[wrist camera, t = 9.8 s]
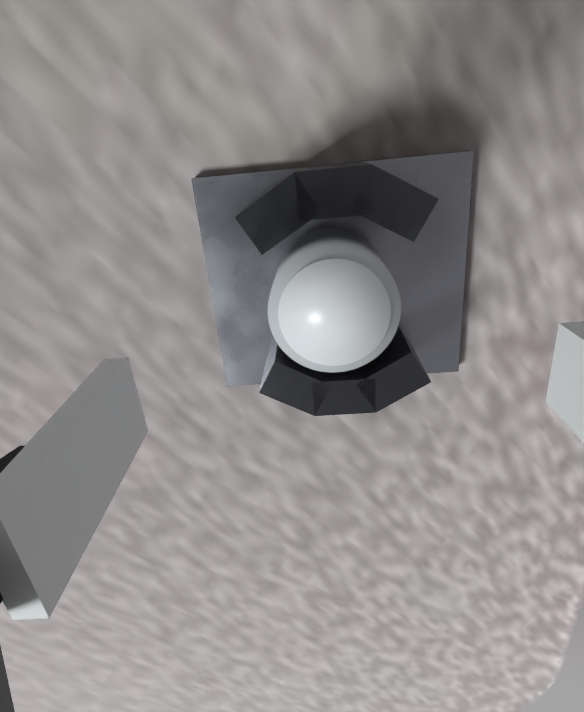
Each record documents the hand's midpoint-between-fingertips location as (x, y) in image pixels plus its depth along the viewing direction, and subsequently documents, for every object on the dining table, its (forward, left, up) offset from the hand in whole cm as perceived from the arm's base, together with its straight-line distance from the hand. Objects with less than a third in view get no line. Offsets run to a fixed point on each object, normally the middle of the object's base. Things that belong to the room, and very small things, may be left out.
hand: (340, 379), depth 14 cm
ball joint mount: (0, 0, -12) cm, 12 cm away
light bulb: (0, 0, -12) cm, 12 cm away
